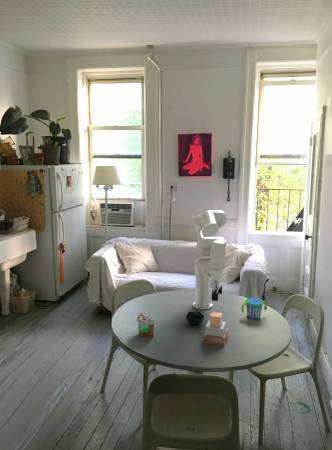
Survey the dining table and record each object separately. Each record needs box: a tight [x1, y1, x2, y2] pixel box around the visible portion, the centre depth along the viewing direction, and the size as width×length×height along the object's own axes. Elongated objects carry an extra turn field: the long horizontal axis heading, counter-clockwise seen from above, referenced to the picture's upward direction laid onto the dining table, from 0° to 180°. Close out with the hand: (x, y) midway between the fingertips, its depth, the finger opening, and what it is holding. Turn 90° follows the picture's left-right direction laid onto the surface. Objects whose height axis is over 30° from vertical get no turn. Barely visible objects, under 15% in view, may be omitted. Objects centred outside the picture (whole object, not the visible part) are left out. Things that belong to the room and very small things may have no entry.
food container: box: [136, 312, 156, 339], centre depth 207 cm, size 12×6×10 cm, turn 37°
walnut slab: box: [202, 328, 229, 347], centre depth 204 cm, size 11×11×4 cm
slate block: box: [204, 319, 227, 337], centre depth 203 cm, size 9×9×4 cm
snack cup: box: [240, 297, 268, 320], centre depth 231 cm, size 16×10×10 cm
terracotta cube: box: [209, 311, 224, 327], centre depth 201 cm, size 6×6×6 cm
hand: (216, 297), depth 198 cm, fingers open, 9 cm apart
